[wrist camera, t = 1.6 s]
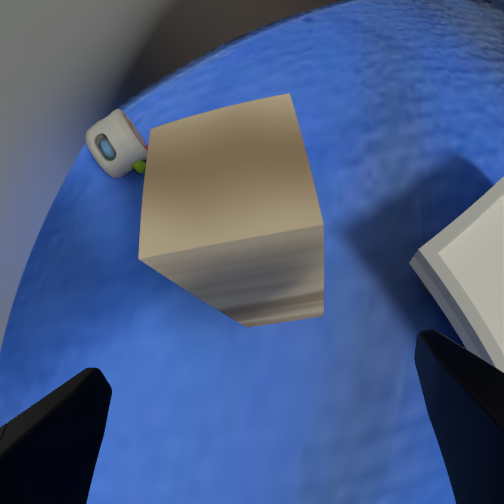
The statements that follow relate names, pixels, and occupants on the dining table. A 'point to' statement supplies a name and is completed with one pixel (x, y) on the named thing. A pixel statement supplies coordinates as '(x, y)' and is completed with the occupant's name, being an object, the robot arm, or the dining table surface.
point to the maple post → (236, 212)
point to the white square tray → (470, 275)
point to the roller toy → (117, 145)
